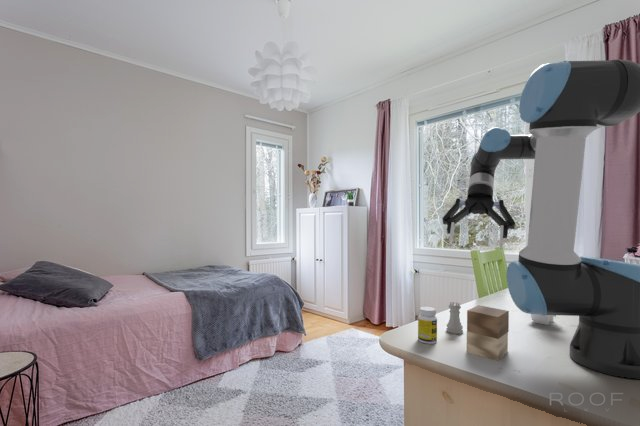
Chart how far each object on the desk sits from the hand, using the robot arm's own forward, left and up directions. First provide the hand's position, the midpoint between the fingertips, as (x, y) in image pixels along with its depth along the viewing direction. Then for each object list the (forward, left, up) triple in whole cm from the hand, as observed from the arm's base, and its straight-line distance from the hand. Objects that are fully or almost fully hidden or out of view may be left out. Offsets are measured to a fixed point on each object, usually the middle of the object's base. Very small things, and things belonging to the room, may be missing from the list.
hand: (475, 244), depth 101 cm
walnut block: (-14, +15, -19) cm, 28 cm away
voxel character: (-9, -20, -24) cm, 33 cm away
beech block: (-14, +15, -24) cm, 31 cm away
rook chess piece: (-1, +10, -24) cm, 26 cm away
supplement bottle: (-2, +22, -24) cm, 33 cm away
